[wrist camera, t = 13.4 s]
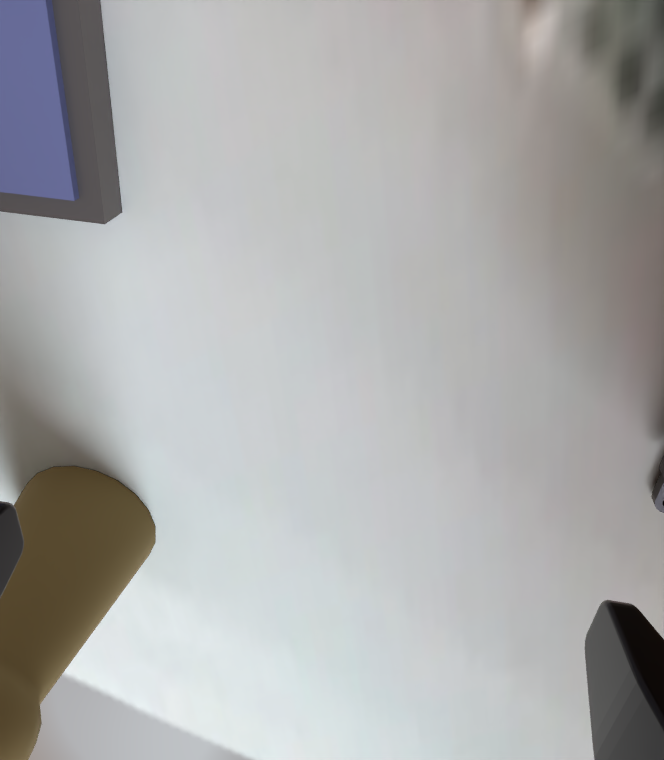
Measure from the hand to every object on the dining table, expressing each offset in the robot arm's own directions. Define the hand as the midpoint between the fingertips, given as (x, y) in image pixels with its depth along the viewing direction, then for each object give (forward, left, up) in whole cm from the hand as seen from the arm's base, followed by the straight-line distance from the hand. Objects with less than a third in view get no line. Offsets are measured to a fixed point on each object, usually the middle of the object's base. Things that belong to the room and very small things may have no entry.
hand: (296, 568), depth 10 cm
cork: (+11, +13, -12) cm, 21 cm away
